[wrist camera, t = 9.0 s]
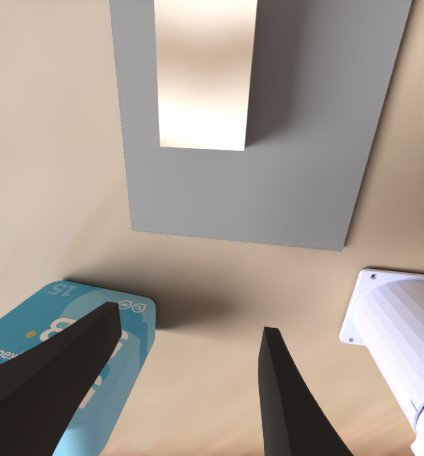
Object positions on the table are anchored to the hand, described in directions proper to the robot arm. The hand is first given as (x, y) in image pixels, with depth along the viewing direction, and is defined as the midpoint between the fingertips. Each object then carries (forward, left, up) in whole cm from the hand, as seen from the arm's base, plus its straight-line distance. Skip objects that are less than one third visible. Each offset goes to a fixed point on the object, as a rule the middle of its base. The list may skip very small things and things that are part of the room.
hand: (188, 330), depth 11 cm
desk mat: (-1, -9, -10) cm, 14 cm away
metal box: (+1, -12, -10) cm, 16 cm away
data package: (+12, +9, -11) cm, 18 cm away
